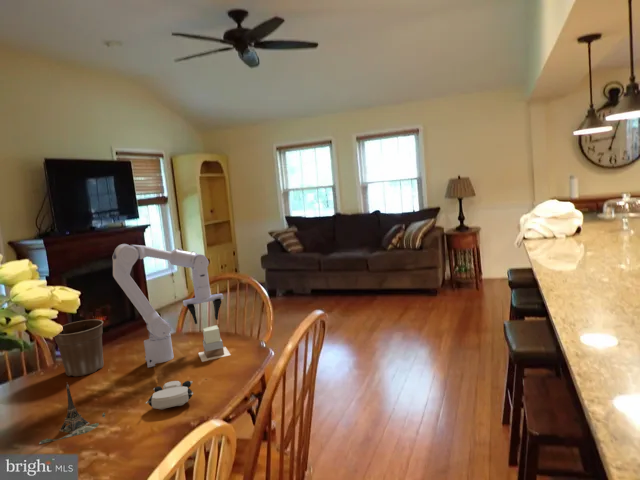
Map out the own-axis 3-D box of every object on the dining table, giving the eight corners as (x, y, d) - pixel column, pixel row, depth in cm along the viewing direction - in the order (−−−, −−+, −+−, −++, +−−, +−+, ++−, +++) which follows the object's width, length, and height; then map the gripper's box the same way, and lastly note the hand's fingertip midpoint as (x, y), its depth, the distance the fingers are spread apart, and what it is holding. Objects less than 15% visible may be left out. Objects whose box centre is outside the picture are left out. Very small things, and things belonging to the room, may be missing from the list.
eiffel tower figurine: (37, 447, 116) (28, 396, 114) (45, 428, 125) (37, 381, 124) (103, 430, 121) (95, 382, 119) (106, 414, 130) (98, 368, 129)
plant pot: (115, 368, 163) (108, 324, 161) (63, 384, 154) (55, 337, 152) (104, 357, 176) (97, 316, 174) (56, 371, 167) (48, 328, 165)
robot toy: (153, 397, 139) (147, 417, 124) (151, 383, 139) (144, 401, 124) (195, 389, 142) (194, 408, 127) (193, 375, 142) (192, 392, 127)
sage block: (206, 344, 162) (204, 331, 162) (204, 340, 167) (202, 328, 166) (220, 340, 164) (218, 328, 163) (218, 337, 169) (216, 325, 168)
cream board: (202, 363, 160) (202, 361, 160) (198, 354, 169) (198, 352, 169) (231, 357, 163) (230, 354, 163) (225, 348, 173) (225, 346, 173)
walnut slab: (207, 358, 162) (206, 351, 162) (204, 353, 168) (203, 346, 167) (224, 354, 164) (223, 347, 164) (221, 349, 170) (220, 342, 170)
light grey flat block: (206, 351, 162) (205, 344, 162) (203, 346, 167) (202, 339, 167) (223, 347, 164) (222, 340, 164) (220, 342, 170) (219, 336, 169)
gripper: (182, 291, 166) (187, 327, 168) (223, 284, 171) (227, 319, 173) (180, 287, 173) (185, 323, 174) (219, 281, 178) (224, 315, 180)
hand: (206, 321), depth 174 cm, fingers open, 7 cm apart
